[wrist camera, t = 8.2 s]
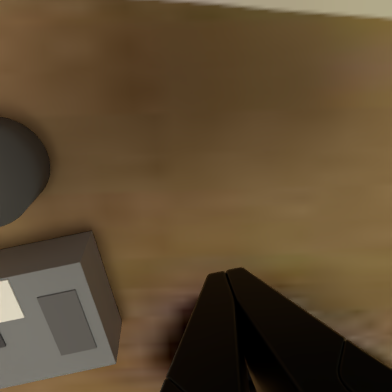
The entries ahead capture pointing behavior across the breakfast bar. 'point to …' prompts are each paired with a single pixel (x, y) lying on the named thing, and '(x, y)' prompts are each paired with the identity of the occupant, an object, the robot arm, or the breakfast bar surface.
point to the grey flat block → (55, 310)
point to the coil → (20, 169)
